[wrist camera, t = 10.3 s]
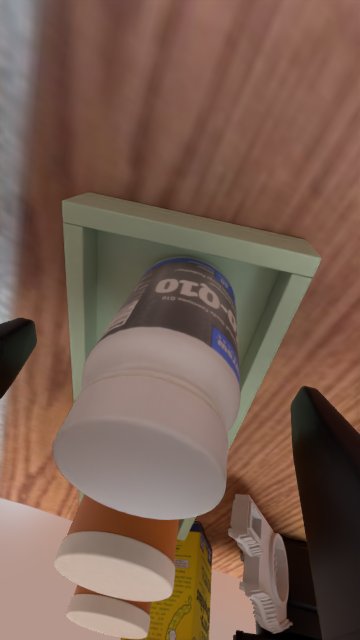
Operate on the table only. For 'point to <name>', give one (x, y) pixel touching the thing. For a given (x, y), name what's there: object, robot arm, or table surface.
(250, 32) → the table surface
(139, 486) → the pill bottle
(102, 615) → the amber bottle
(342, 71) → the table surface
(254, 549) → the garden wall model
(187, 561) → the supplement box
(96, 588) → the amber bottle middle
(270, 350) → the tray
